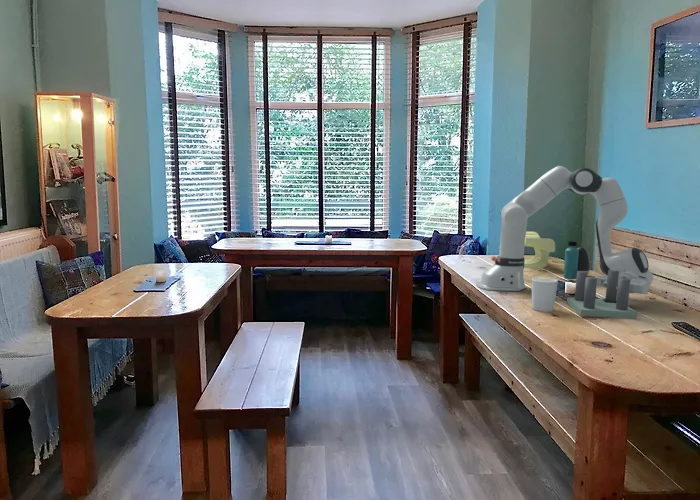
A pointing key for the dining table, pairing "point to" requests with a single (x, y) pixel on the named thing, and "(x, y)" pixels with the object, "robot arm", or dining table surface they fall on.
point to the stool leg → (612, 286)
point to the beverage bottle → (571, 261)
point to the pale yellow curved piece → (538, 250)
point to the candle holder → (543, 293)
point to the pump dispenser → (583, 260)
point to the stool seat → (595, 307)
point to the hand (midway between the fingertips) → (611, 286)
